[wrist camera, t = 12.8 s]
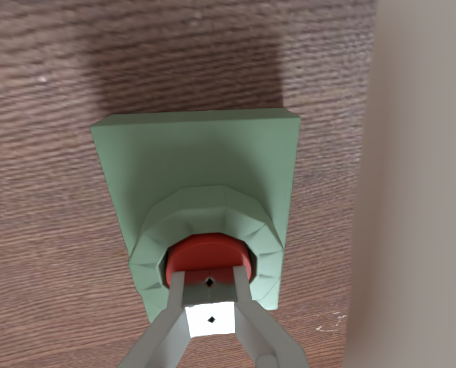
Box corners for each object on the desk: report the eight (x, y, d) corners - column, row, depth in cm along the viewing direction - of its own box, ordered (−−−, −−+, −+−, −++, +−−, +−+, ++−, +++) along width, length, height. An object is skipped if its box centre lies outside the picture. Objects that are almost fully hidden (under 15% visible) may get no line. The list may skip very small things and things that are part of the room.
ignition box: (110, 114, 10) (60, 140, 7) (284, 107, 11) (322, 127, 7) (156, 291, 16) (141, 356, 12) (268, 280, 16) (286, 340, 13)
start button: (165, 219, 10) (158, 247, 9) (245, 213, 10) (252, 239, 9) (176, 275, 12) (172, 307, 10) (244, 269, 12) (250, 299, 11)
